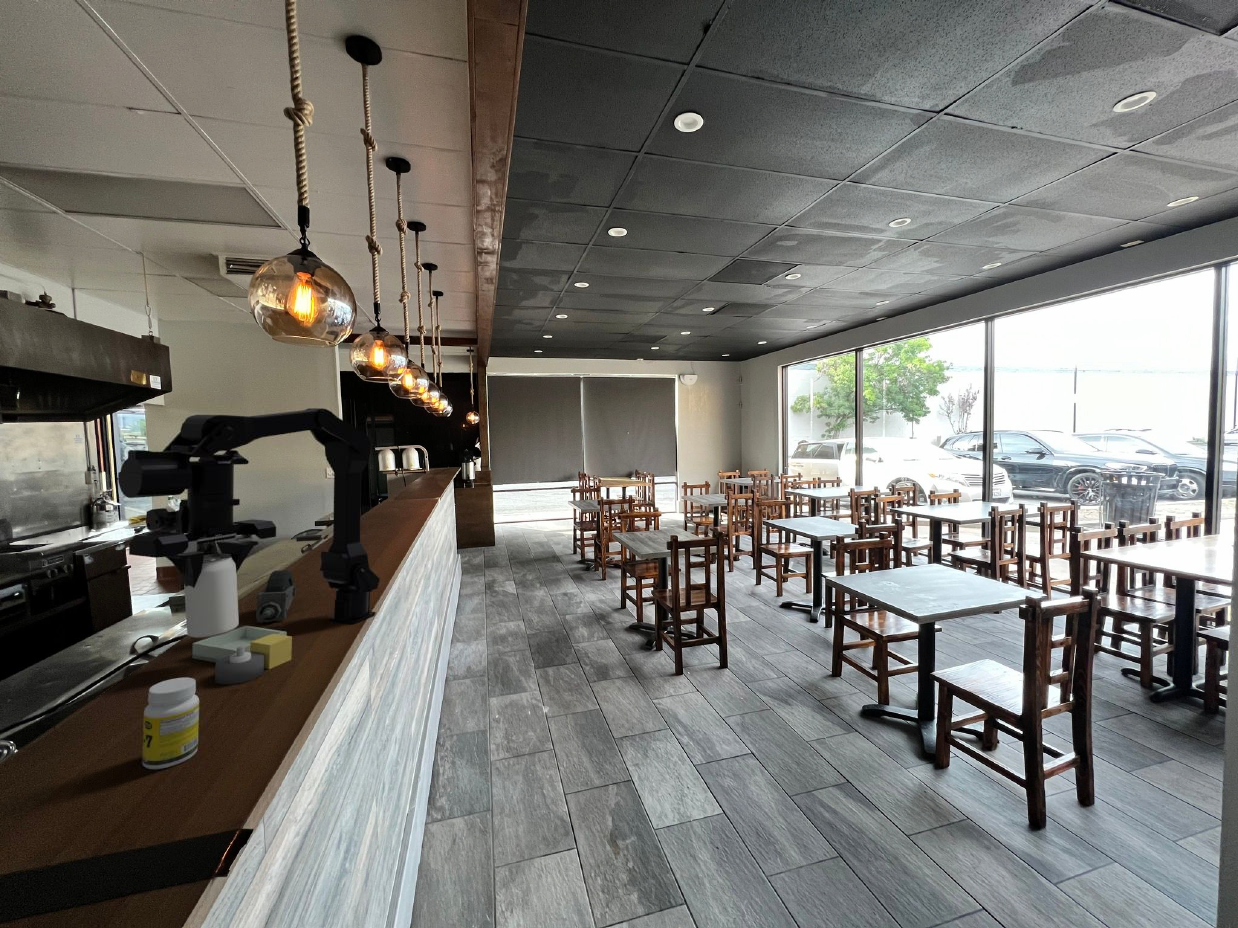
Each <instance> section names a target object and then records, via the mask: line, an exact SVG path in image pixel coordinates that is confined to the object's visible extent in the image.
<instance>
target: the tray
mask: <svg viewBox="0 0 1238 928" xmlns="http://www.w3.org/2000/svg"><path fill="white" fill-rule="evenodd" d="M287 633H288V632H287V631H285V630H284V631H282V630H277V629H270V628H265V627H264V628H263V627H257V626H253V625H252V626H251V625H244V626H240V627H238V628H235V629H234V630H232V631H230V632H228V633H225V634H222V635H218V636H214V637H208V638H203V639H201V640H198V641H196V642H193V643H192V659H195V660H199V661H200V660H201V661H206V662H211V663H216V662H217V661H218V660H220V659H222V658H224V657H227V656H230V655H233V654H236V653H237V647H241V646H244V647H245V652H250V642H251V641H254V640H257V639H260V638H262V637H265V636H268V635H271V634H279V635H285V636H288V634H287Z"/></svg>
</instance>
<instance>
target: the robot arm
mask: <svg viewBox="0 0 1238 928" xmlns="http://www.w3.org/2000/svg"><path fill="white" fill-rule="evenodd" d="M179 430H180V432H178V433H177V434H176V436H175V437H174V438H173V439H172V440H171V441H170V442H169V443H168V444H167V446H165V448H164V449H163V450H162V451H152V450H146V449H145V450H142V449H129V450H128V451H127V458H126V459H125V460H124V461H123V463H122V465H121V467H120V471H119V472H118V475H117V479H118V486H119V489H120V491H121V493H122V494H123V495H124V497H126V498H129V499H138V498H152V497H153V498H154V497H168V496H180V495H182V494H183V493H184V492H185V491H186V490H187V491H186V493H187V494H186V496H187V498H183V499H180V502H179V503H178V504H179V508H178V510H174V511H168V509H167V508H165V507H164V508H163V507H161V508H152V509H149V510H147V511H146V512H145V513H146V515H145V525H146V528H147V530H148V531H149V533H144V534H143V533H142V534H136V535H134V537H133V538H132V539H131V541H130V542H129V543H128V555H129V556H138V557H147V558H154V559H155V558H156V559H157V558H166V559H167V560H168V561H170V562H171V563H172V564H173V566H174V567H175V569H176V570H177V572H178V574H179V576H180V577H181V580H182V581H183V582H182V583H183V585H184V584H185V586H186V587H187V586H191V587H193V588H195V585H196V582H197V580H198V578H199V576H200V574H201V572H202V565H203V559H204V555H205V551H198V545H201V544H202V545H203V544H206V543H207V544H208V543H215V544H216V545H217V547H218V548H219V550H220V552H221V553H220V554H231V555H232V560H233V561H234V562H235V565H236V574H238V571H239V570H240V568H241V567H242V564H243V563H244V561H245V560H246V559H247V557H248V555H249V554H250V552H251V551H252V550H253V548H254V547H255V546H258V545H259V543H260V542H259V541H258V540H253V536H255V537H257V538H258V539H259V540H267V539H271V538H276V537H277V526H276V524H275V523H274V522H273V521H272V520H265V519H254V518H253V519H251V518H250V519H244V520H238V521H234V507H235V506H240V505H241V503H240V502H241V499H240V498H235V497H234V496H235V495H234V494H235V493H234V488H235V487H234V484H235V483H234V480H235V476H234V475H235V473H234V471H235V466H238V465H248V464H249V463H250V462H249V461H250V460H248V459H247V458H245V457H244V456H243V455H241V453H239V451H238V450H236V449H238V448H241V447H243V446H246V445H248V444H249V445H250V444H251V443H252V442H254V441H256V440H259V439H262V438H268V437H274V436H280V435H288V434H292V433H299V432H300V433H301V432H308V431H310V433H311V435H312V436H313V438H314V439H315V441H316V442H318V443H319V444H320V445H321V446H323V447H324V452H325V458H326V462H327V463H328V464H329V466H330V468H331V470H332V472H333V520H332V521H333V525H332V527H333V530H332V532H333V534H332V537H333V539H332V544H331V545H330V547H329V548H328V550H322V551H321V553H320V559H321V565H320V569H319V571H320V572H322V576H323V578H324V579H325V580H327V581H326V582H327V584H328V586H329V589H334V590H336V591H335V599H334V607H333V608H334V609H333V610H334V613H333V615H331V616H329V617H328V620H329V619H332V620H331V621H334V620H336V621H335V622H341V621H342V622H341V623H350V624H356V623H358V622H361V621H364V620H365V619H368V618H370V617H372V616H375V615H376V613H377V612H376V611H373V610H372V611H371V610H370V608H371V592H373V591H374V590H377V589H378V588H379V584H380V580H381V579H380V577H378V575H376V573H374V571H372V570H371V568H370V564H369V557H368V553H367V551H366V549H365V547H364V544H362V542H361V506H362V505H361V501H362V499H361V498H362V493H361V492H362V472H363V471H364V469H365V468H366V467H367V465H368V463H369V461H370V456H371V451H372V440H371V438H370V437H369V436H368V435H367V433H366V432H365V431H362V430H359V429H358V428H357V427H356V426H354V425H352V424H351V423H349V422H347V421H345V420H343V419H342V418H340V417H338V416H337V415H336V414H335V413H333V412H332V411H331V410H329V409H327V408H321V407H320V408H317V407H316V408H314V407H313V408H311V407H309V408H305V409H302V410H295V411H285V412H284V411H283V412H277V413H267V414H259V415H250V416H249V415H248V416H247V415H246V416H245V415H229V414H194V415H190V416H188V417H187V418H185V420H184V422H183V423H182V425H181V427H180V429H179ZM218 452H223V453H222V454H220V453H219V454H218ZM191 458H196V459H197V458H198V460H191ZM156 531H157V532H156ZM150 532H151V533H150Z"/></svg>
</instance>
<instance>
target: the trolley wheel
mask: <svg viewBox="0 0 1238 928" xmlns="http://www.w3.org/2000/svg"><path fill="white" fill-rule="evenodd" d="M214 666H215V668H214V670H215V671H214V674H215V675H214V682H215V683H216V684H219V685H235V684H237V685H238V684H242V683H246V682H249V681H252V680H254V679H257V678H259V677H260V676H262V675H263V674H264V669H265V668H264V655H263V654H262V653H258V652H245V647H244V646H241V647H237V653H236V654H233V655H230V656H227V657H224V658H222V659H220V660H218V661H217V662H215V665H214Z"/></svg>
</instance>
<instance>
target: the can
mask: <svg viewBox="0 0 1238 928" xmlns="http://www.w3.org/2000/svg"><path fill="white" fill-rule="evenodd" d="M237 579H238V578H237V573H236V565H235V562H234V561H233V560H232V555H231V554H222V553H215V554H214V553H213V554H206V555H205V554H204V559H203V565H202V572H201V574H200V576H199V578H198V580H197V582H196V585H195V588H193V587H191V586H187V587H186V586H185V584H184V583H183V585H184V602H185V605H184V606H185V617H186V619H185V620H186V622H185V623H186V633H187V635H188V636H190V637H191V638H193V639H207V638H210V637H214V636H218V635H222V634H225V633H228V632H230V631H232V630H235V629H237V627H238V626H239V623H240V622H239V604H238V602H239V601H238V598H239V597H238V583H237V582H238V581H237Z"/></svg>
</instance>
